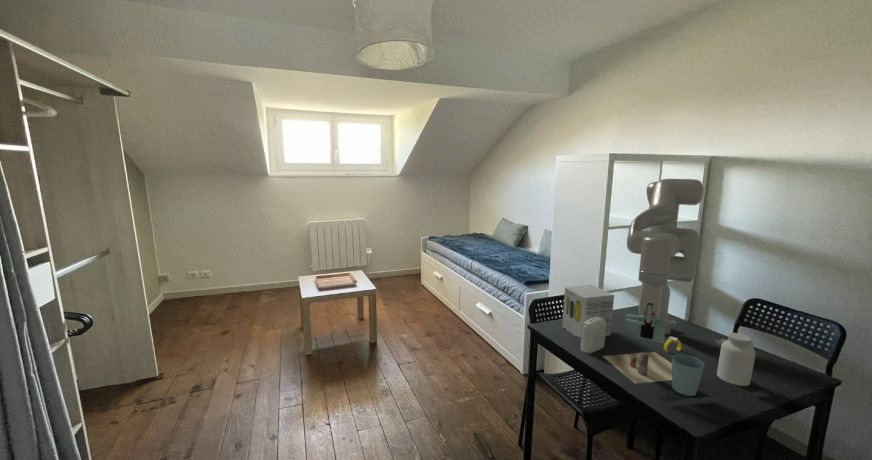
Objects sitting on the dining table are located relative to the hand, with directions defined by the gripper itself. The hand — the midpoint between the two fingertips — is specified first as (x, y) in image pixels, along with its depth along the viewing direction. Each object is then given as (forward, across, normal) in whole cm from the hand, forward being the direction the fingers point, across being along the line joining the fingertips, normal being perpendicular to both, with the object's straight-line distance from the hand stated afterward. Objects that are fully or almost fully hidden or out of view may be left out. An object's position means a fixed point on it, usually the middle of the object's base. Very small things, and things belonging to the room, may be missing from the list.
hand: (646, 332), depth 110 cm
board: (+15, -6, +1) cm, 16 cm away
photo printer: (+15, -10, -16) cm, 24 cm away
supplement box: (+15, -24, -21) cm, 35 cm away
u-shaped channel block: (+1, 0, 0) cm, 1 cm away
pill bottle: (+15, -12, +24) cm, 31 cm away
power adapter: (+15, -34, +26) cm, 46 cm away
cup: (+15, +3, +11) cm, 19 cm away
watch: (+15, -23, +8) cm, 29 cm away
